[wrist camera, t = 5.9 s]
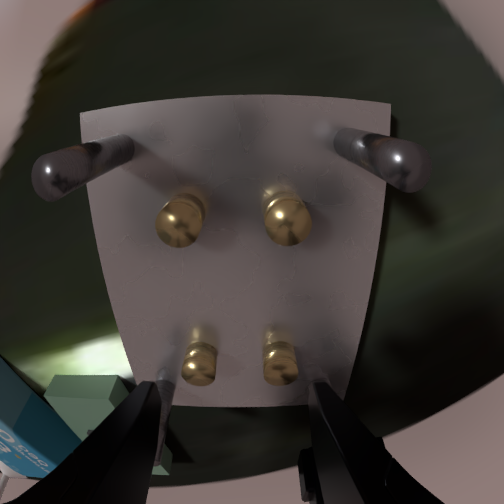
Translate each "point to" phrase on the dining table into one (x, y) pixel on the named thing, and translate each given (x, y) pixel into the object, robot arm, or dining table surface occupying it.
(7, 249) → the dining table surface
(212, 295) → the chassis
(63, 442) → the data package
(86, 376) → the board
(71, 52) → the dining table surface
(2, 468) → the champagne flute
